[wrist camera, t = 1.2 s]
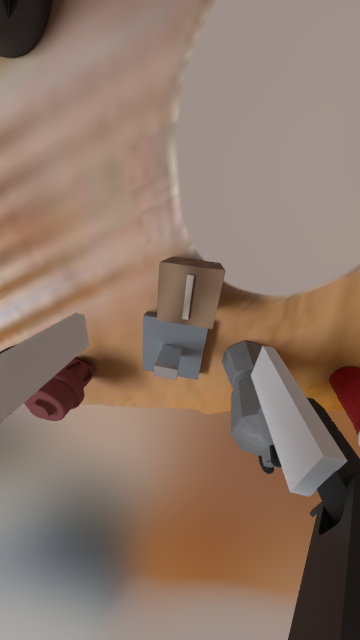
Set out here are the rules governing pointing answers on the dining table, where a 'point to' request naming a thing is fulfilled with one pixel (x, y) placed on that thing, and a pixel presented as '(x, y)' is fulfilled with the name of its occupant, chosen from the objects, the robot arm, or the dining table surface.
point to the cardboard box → (189, 291)
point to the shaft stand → (172, 348)
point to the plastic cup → (348, 393)
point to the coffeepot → (248, 405)
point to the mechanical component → (61, 391)
